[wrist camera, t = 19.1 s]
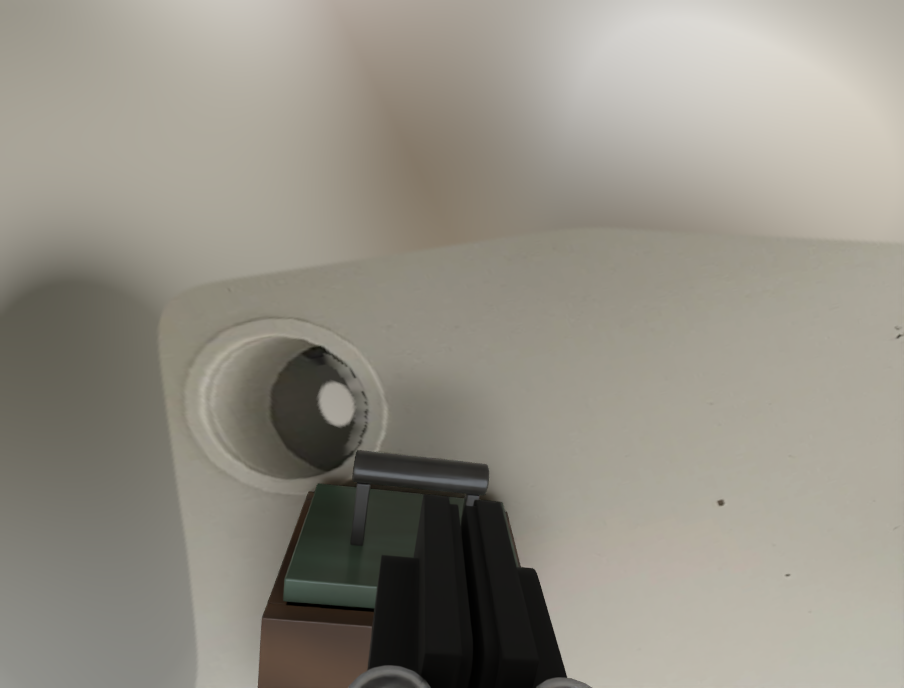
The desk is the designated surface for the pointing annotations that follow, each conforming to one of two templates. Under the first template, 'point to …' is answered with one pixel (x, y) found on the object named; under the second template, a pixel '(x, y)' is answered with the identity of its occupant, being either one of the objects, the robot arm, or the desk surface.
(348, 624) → the cabinet
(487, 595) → the robot arm
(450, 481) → the drawer
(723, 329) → the desk surface
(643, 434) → the desk surface
